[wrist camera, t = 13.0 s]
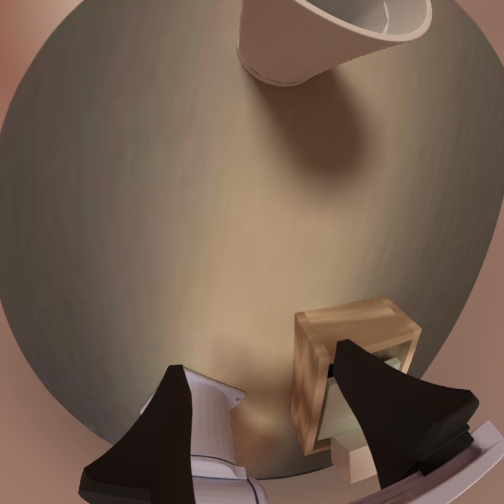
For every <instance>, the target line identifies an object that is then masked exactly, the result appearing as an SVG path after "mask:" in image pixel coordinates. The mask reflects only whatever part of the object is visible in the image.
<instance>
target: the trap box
mask: <svg viewBox="0 0 504 504" xmlns="http://www.w3.org/2000/svg"><path fill="white" fill-rule="evenodd" d="M421 330H422V329H421V328H420V327H419V326H418V325H417V324H416V323H415V322H414V321H412V320H411V319H410V318H409V317H408V316H407V315H406V314H405V313H404V312H403V311H401V310H400V309H399V308H398V307H397V306H396V305H395V304H394V303H392V302H391V301H390V300H389V299H388V298H387V297H386V296H380V297H376V298H371V299H367V300H362V301H357V302H353V303H348V304H343V305H337V306H332V307H327V308H321V309H316V310H310V311H304V312H298V313H295V328H294V361H293V384H292V403H291V418H292V421H293V424H294V427H295V430H296V433H297V436H298V439H299V442H300V445H301V448H302V450H303V453H304V456H306V455H310V454H314V453H317V452H321V451H325V450H328V449H331V445H330V437H329V438H326V439H322V440H319V441H318V440H317V437H316V433H317V429H318V424H319V419H320V414H321V409H322V404H323V398H324V393H325V387H326V381H327V375H328V369H329V364H333V363H334V358H335V351H336V345H337V341H341V340H345V339H350V340H351V341H353V342H354V343H356V344H357V345H359V346H360V347H362V348H363V349H365V350H366V351H367V352H369V353H370V354H372V355H374V356H375V357H377V358H378V359H380V360H381V361H383V362H385V361H387V360H390V359H393V358H396V357H397V358H398V360H399V361H400V362H401V364H400V367H399V371H401V372H403V373H405V374H406V373H407V371H408V368H409V365H410V363H411V360H412V357H413V354H414V351H415V348H416V345H417V342H418V339H419V336H420V333H421Z"/></svg>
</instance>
